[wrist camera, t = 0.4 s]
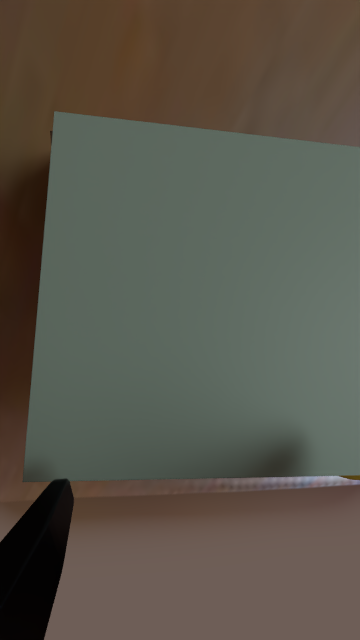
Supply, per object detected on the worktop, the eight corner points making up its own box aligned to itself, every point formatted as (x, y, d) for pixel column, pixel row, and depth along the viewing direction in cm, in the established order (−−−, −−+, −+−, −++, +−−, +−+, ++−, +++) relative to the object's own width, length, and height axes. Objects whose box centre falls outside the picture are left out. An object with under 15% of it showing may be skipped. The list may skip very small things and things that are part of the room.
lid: (358, 164, 13) (375, 149, 12) (372, 464, 12) (393, 474, 11) (62, 131, 12) (54, 111, 11) (34, 469, 10) (22, 482, 9)
